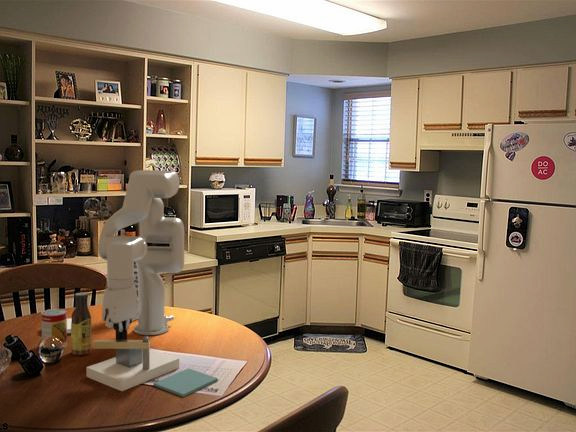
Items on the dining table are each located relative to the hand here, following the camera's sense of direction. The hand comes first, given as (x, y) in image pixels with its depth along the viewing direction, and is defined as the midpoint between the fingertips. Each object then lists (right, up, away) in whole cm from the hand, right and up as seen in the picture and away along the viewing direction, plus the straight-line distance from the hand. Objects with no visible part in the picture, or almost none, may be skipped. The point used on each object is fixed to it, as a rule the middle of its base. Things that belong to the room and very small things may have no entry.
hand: (121, 342), depth 168 cm
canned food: (-29, -7, +23) cm, 38 cm away
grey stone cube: (+2, -7, +3) cm, 7 cm away
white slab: (+3, -10, +3) cm, 11 cm away
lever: (+1, -1, -3) cm, 3 cm away
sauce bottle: (-18, -8, +18) cm, 27 cm away
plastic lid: (-33, -5, +40) cm, 52 cm away
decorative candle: (-12, -3, +59) cm, 60 cm away
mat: (+20, -11, -4) cm, 23 cm away
